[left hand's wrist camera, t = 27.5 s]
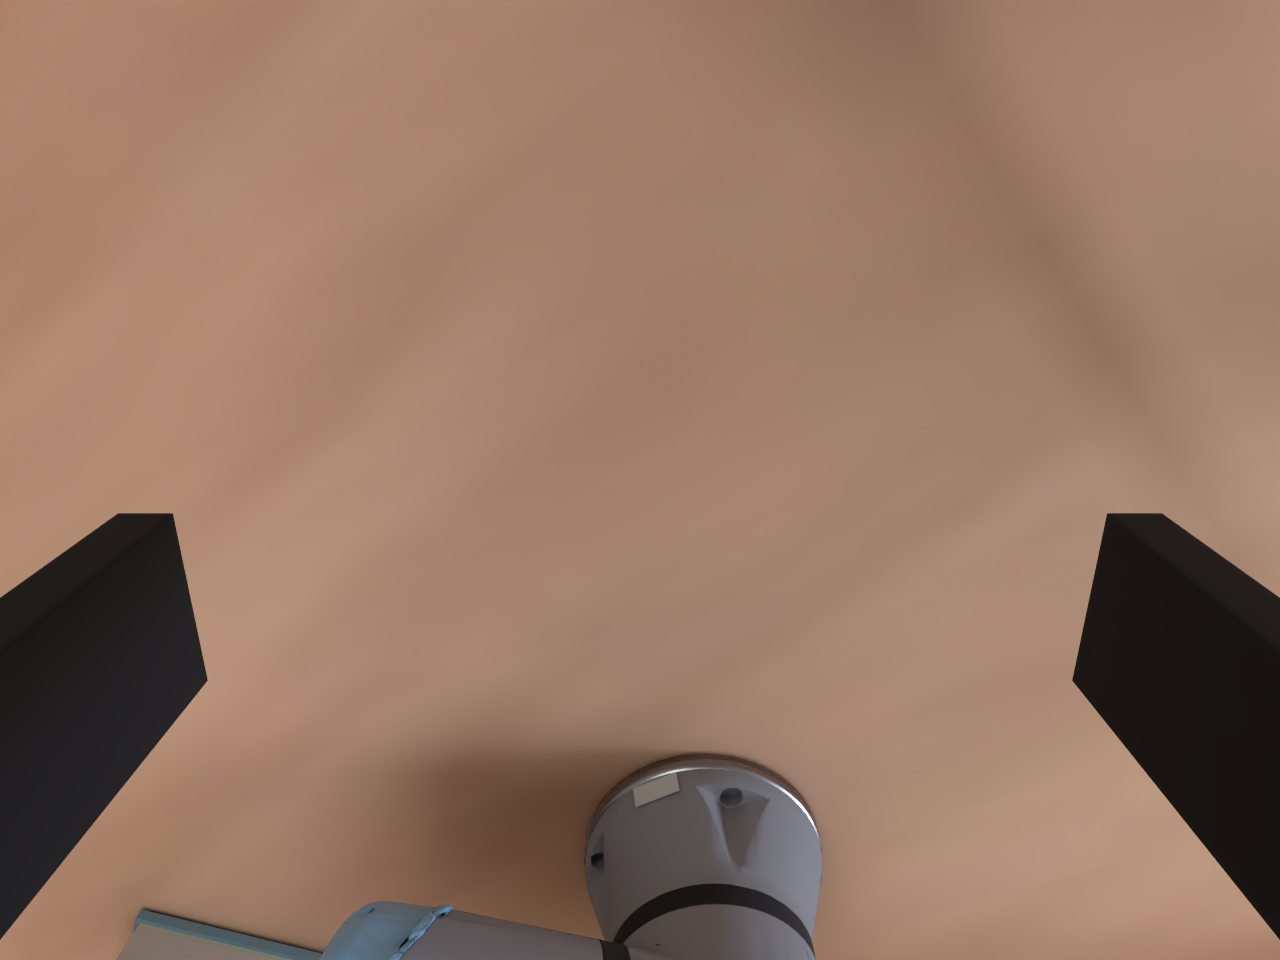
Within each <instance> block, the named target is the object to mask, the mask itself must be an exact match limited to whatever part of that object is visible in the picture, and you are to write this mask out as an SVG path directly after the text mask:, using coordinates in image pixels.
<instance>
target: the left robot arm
mask: <svg viewBox="0 0 1280 960" xmlns="http://www.w3.org/2000/svg"><path fill="white" fill-rule="evenodd" d="M207 681H208V680H207V675H206V670H205V666H204V661H203V656H202V651H201V646H200V642H199V637H198V632H197V627H196V623H195V618H194V613H193V608H192V603H191V599H190V594H189V589H188V584H187V579H186V575H185V570H184V565H183V560H182V556H181V551H180V546H179V541H178V536H177V532H176V527H175V522H174V517H173V514H117V515H115V516H114V517H113V518H111V519H110V520H108V521H107V522H106V523H104V524H103V525H101V526H100V527H99V528H97V529H96V530H94V531H93V532H92V533H90V534H89V535H87V536H86V537H85V538H83V539H82V540H80V541H79V542H78V543H76V544H75V545H73V546H72V547H71V548H69V549H68V550H66V551H65V552H64V553H62V554H61V555H60V556H58V557H57V558H55V559H54V560H53V561H51V562H50V563H48V564H47V565H46V566H44V567H43V568H41V569H40V570H39V571H37V572H36V573H34V574H33V575H32V576H30V577H29V578H27V579H26V580H25V581H23V582H22V583H20V584H19V585H18V586H16V587H15V588H13V589H12V590H11V591H9V592H8V593H6V594H5V595H4V596H2V597H1V598H0V939H1V938H2V937H3V935H4V934H5V933H6V932H7V930H8V929H9V928H10V927H11V925H12V924H13V923H14V922H15V920H16V919H17V918H18V917H19V915H20V914H21V913H22V912H23V910H24V909H25V908H26V907H27V905H28V904H29V903H30V902H31V901H32V899H33V898H34V897H35V896H36V894H37V893H38V892H39V891H40V889H41V888H42V887H43V886H44V884H45V883H46V882H47V881H48V879H49V878H50V877H51V876H52V874H53V873H54V872H55V871H56V869H57V868H58V867H59V866H60V864H61V863H62V862H63V861H64V859H65V858H66V857H67V856H68V854H69V853H70V852H71V851H72V849H73V848H74V847H75V846H76V844H77V843H78V842H79V841H80V839H81V838H82V837H83V836H84V834H85V833H86V832H87V831H88V829H89V828H90V827H91V826H92V824H93V823H94V822H95V821H96V819H97V818H98V817H99V816H100V814H101V813H102V812H103V811H104V809H105V808H106V807H107V806H108V804H109V803H110V802H111V801H112V799H113V798H114V797H115V796H116V794H117V793H118V792H119V791H120V789H121V788H122V787H123V786H124V784H125V783H126V782H127V781H128V779H129V778H130V777H131V776H132V774H133V773H134V772H135V771H136V769H137V768H138V767H139V766H140V764H141V763H142V762H143V761H144V759H145V758H146V757H147V756H148V754H149V753H150V752H151V751H152V749H153V748H154V747H155V746H156V744H157V743H158V742H159V741H160V739H161V738H162V737H163V736H164V734H165V733H166V732H167V731H168V729H169V728H170V727H171V726H172V724H173V723H174V722H175V721H176V719H177V718H178V717H179V716H180V714H181V713H182V712H183V711H184V709H185V708H186V707H187V706H188V704H189V703H190V702H191V701H192V699H193V698H194V697H195V696H196V694H197V693H198V692H199V691H200V689H201V688H202V687H203V686H204V684H205V683H206V682H207ZM1072 681H1073V682H1074V683H1075V684H1076V686H1077V687H1078V688H1079V689H1080V691H1081V692H1082V693H1083V694H1084V696H1085V697H1086V698H1087V699H1088V701H1089V702H1090V703H1091V704H1092V706H1093V707H1094V708H1095V709H1096V711H1097V712H1098V713H1099V714H1100V716H1101V717H1102V718H1103V719H1104V721H1105V722H1106V723H1107V724H1108V726H1109V727H1110V728H1111V729H1112V731H1113V732H1114V733H1115V734H1116V736H1117V737H1118V738H1119V739H1120V741H1121V742H1122V743H1123V744H1124V746H1125V747H1126V748H1127V749H1128V751H1129V752H1130V753H1131V754H1132V756H1133V757H1134V758H1135V759H1136V761H1137V762H1138V763H1139V764H1140V766H1141V767H1142V768H1143V769H1144V771H1145V772H1146V773H1147V774H1148V776H1149V777H1150V778H1151V779H1152V781H1153V782H1154V783H1155V784H1156V786H1157V787H1158V788H1159V789H1160V791H1161V792H1162V793H1163V794H1164V796H1165V797H1166V798H1167V799H1168V801H1169V802H1170V803H1171V804H1172V806H1173V807H1174V808H1175V809H1176V811H1177V812H1178V813H1179V814H1180V816H1181V817H1182V818H1183V819H1184V821H1185V822H1186V823H1187V824H1188V826H1189V827H1190V828H1191V829H1192V831H1193V832H1194V833H1195V834H1196V836H1197V837H1198V838H1199V839H1200V841H1201V842H1202V843H1203V844H1204V846H1205V847H1206V848H1207V849H1208V851H1209V852H1210V853H1211V854H1212V856H1213V857H1214V858H1215V859H1216V861H1217V862H1218V863H1219V864H1220V866H1221V867H1222V868H1223V869H1224V871H1225V872H1226V873H1227V874H1228V876H1229V877H1230V878H1231V879H1232V881H1233V882H1234V883H1235V884H1236V886H1237V887H1238V888H1239V889H1240V891H1241V892H1242V893H1243V894H1244V896H1245V897H1246V898H1247V899H1248V901H1249V902H1250V903H1251V904H1252V905H1253V907H1254V908H1255V909H1256V910H1257V912H1258V913H1259V914H1260V915H1261V917H1262V918H1263V919H1264V920H1265V922H1266V923H1267V924H1268V925H1269V927H1270V928H1271V929H1272V930H1273V932H1274V933H1275V934H1276V935H1277V937H1278V938H1279V939H1280V598H1279V597H1278V596H1276V595H1275V594H1274V593H1272V592H1271V591H1269V590H1268V589H1267V588H1265V587H1264V586H1262V585H1261V584H1260V583H1258V582H1257V581H1255V580H1254V579H1253V578H1251V577H1250V576H1248V575H1247V574H1246V573H1244V572H1243V571H1241V570H1240V569H1239V568H1237V567H1236V566H1234V565H1233V564H1232V563H1230V562H1229V561H1227V560H1226V559H1225V558H1223V557H1222V556H1220V555H1219V554H1218V553H1216V552H1215V551H1214V550H1212V549H1211V548H1209V547H1208V546H1207V545H1205V544H1204V543H1202V542H1201V541H1200V540H1198V539H1197V538H1195V537H1194V536H1193V535H1191V534H1190V533H1188V532H1187V531H1186V530H1184V529H1183V528H1181V527H1180V526H1179V525H1177V524H1176V523H1174V522H1173V521H1172V520H1170V519H1169V518H1167V517H1166V516H1165V515H1163V514H1107V517H1106V522H1105V527H1104V532H1103V536H1102V541H1101V546H1100V551H1099V556H1098V560H1097V565H1096V570H1095V575H1094V579H1093V584H1092V589H1091V594H1090V599H1089V603H1088V608H1087V613H1086V618H1085V623H1084V627H1083V632H1082V637H1081V642H1080V646H1079V651H1078V656H1077V661H1076V666H1075V670H1074V675H1073V680H1072ZM585 874H586V882H587V888H588V892H589V895H590V898H591V901H592V904H593V907H594V910H595V913H596V916H597V919H598V922H599V925H600V928H601V931H602V934H603V937H604V940H605V941H603V940H600V939H595V938H590V937H585V936H579V935H574V934H569V933H564V932H559V931H554V930H549V929H544V928H539V927H535V926H530V925H525V924H520V923H515V922H510V921H506V920H501V919H496V918H491V917H486V916H481V915H476V914H472V913H467V912H462V911H457V910H455V909H454V907H453V906H450V905H442V906H438V907H436V908H433V907H425V906H418V905H411V904H404V903H397V902H390V901H380V902H374V903H371V904H368V905H366V906H364V907H362V908H360V909H359V910H358V911H356V912H355V913H353V914H352V915H351V916H350V917H349V918H348V919H347V920H346V921H345V923H344V924H343V925H342V926H341V927H340V928H339V930H338V931H337V932H336V934H335V935H334V937H333V938H332V940H331V941H330V943H329V944H328V946H327V947H326V949H325V951H324V952H323V954H322V956H321V957H320V959H319V960H816V959H815V954H814V949H813V944H812V937H813V930H814V924H815V918H816V911H817V905H818V897H819V890H820V885H821V879H822V851H821V844H820V839H819V835H818V831H817V828H816V824H815V821H814V818H813V815H812V813H811V811H810V809H809V807H808V805H807V804H806V802H805V801H804V799H803V798H802V797H801V795H800V794H799V793H798V792H797V791H796V790H795V789H794V788H793V787H792V786H791V785H790V784H789V783H788V782H786V781H785V780H784V779H783V778H781V777H780V776H778V775H777V774H775V773H774V772H772V771H770V770H768V769H766V768H764V767H762V766H760V765H757V764H755V763H752V762H749V761H746V760H743V759H738V758H734V757H728V756H722V755H689V756H681V757H676V758H671V759H667V760H663V761H660V762H657V763H654V764H652V765H649V766H647V767H645V768H643V769H640V770H639V771H637V772H635V773H633V774H632V775H630V776H628V777H627V778H626V779H624V780H623V781H621V782H620V783H619V784H618V785H617V786H615V787H614V788H613V789H612V790H611V791H610V792H609V793H608V794H607V795H606V797H605V798H604V799H603V800H602V802H601V803H600V804H599V806H598V808H597V809H596V811H595V813H594V815H593V817H592V819H591V822H590V825H589V828H588V832H587V837H586V848H585Z"/></svg>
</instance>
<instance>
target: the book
mask: <svg viewBox="0 0 1280 960" xmlns="http://www.w3.org/2000/svg"><path fill="white" fill-rule="evenodd" d="M321 956H322V953H317V952H313V951H309V950H305V949H301V948H297V947H293V946H289V945H285V944H281V943H277V942H273V941H268V940H264V939H260V938H256V937H252V936H248V935H244V934H240V933H236V932H232V931H228V930H224V929H219V928H215V927H211V926H207V925H203V924H199V923H195V922H191V921H187V920H183V919H179V918H175V917H170V916H166V915H162V914H158V913H154V912H150V911H146V910H141V911H140V913H139V914H138V916H137V917H136V921H135V926H134V932H133V935H132V936H131V938H130V939H129V941H128V942H127V944H126V946H125V947H124V949H123V950H122V952H121V953H120V955H119V956H118V958H117V960H319V959H320V957H321Z"/></svg>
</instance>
